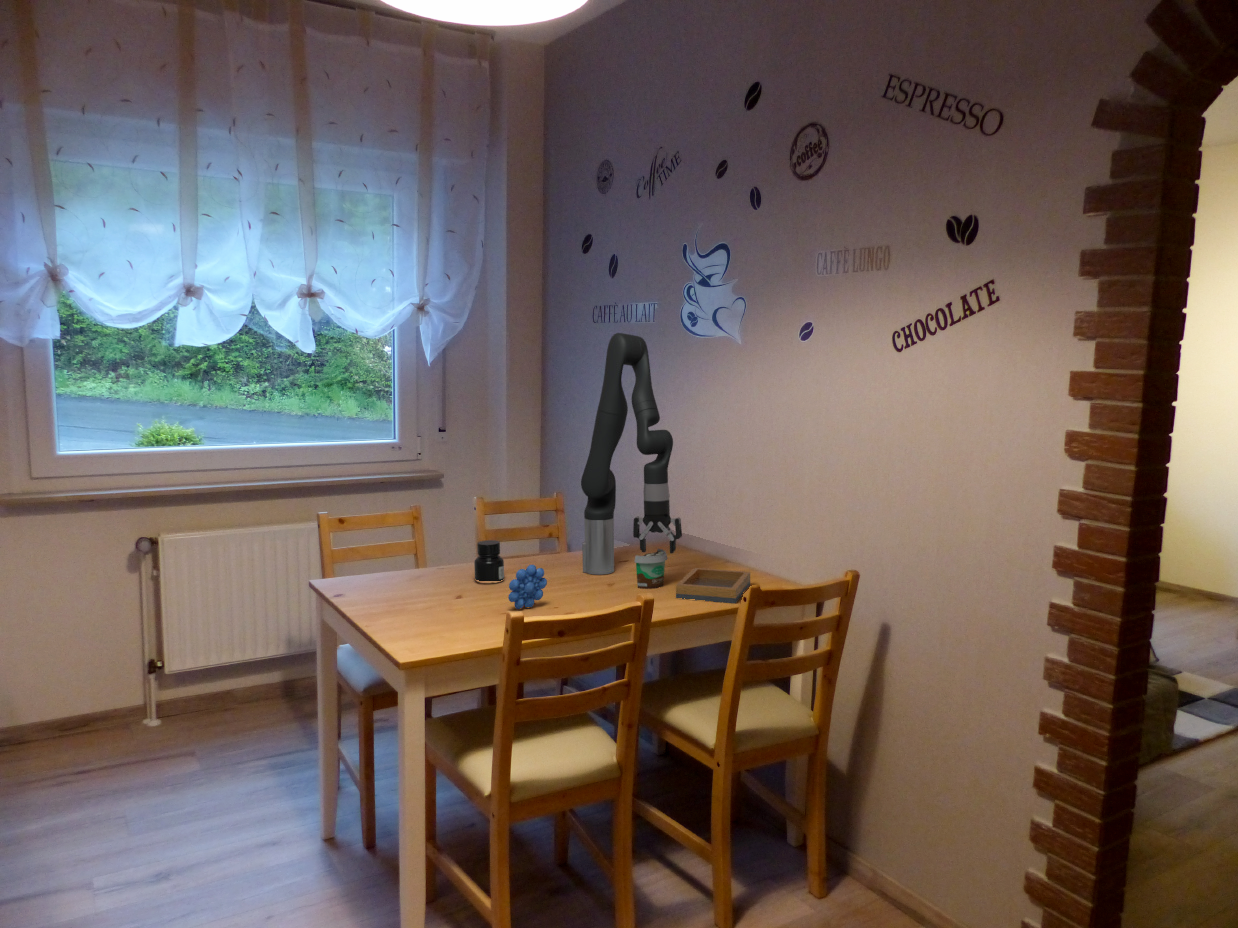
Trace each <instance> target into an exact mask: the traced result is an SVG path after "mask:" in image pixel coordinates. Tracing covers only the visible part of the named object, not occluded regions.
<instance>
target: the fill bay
mask: <svg viewBox="0 0 1238 928" xmlns="http://www.w3.org/2000/svg"><path fill="white" fill-rule="evenodd" d="M749 587H751V571H743V570H731V569H729V570H728V569H716V568H715V569H714V568H713V569H712V568H699V567H694V568H693V569H691V570H690V572H689V571H688V573H687V574H686V575H685V576H683V578H682V579H680V580H679V582H677V583H676V585H675V599H676V598H682V599H681V600H685V599H695V600H694V601H697V600H705V601H704V602H709V601H713V602H712V603H722V602H723V603H724V604H734V605H735V604H737V603H738V601H739V600H740V599H741V597H742V596H743V595H744V594H743V592H744V591H745V590H746V589H747V588H748V589H749ZM748 589H747V590H748ZM747 590H746V591H747ZM746 591H745V592H746ZM745 592H744V593H745ZM742 594H743V595H742ZM741 595H742V596H741ZM684 598H685V599H684Z"/></svg>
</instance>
